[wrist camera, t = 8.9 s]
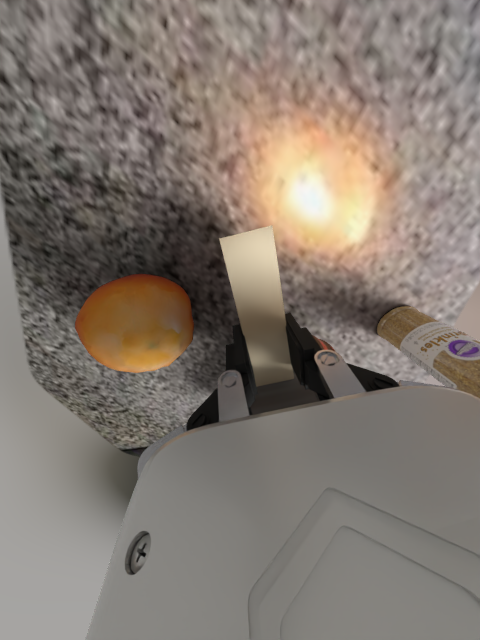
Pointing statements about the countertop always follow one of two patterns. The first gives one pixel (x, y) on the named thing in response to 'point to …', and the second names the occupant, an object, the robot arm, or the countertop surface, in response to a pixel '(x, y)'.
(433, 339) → the sprinkles bottle
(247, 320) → the beige boxy piece
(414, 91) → the countertop surface
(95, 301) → the fruit
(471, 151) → the countertop surface
